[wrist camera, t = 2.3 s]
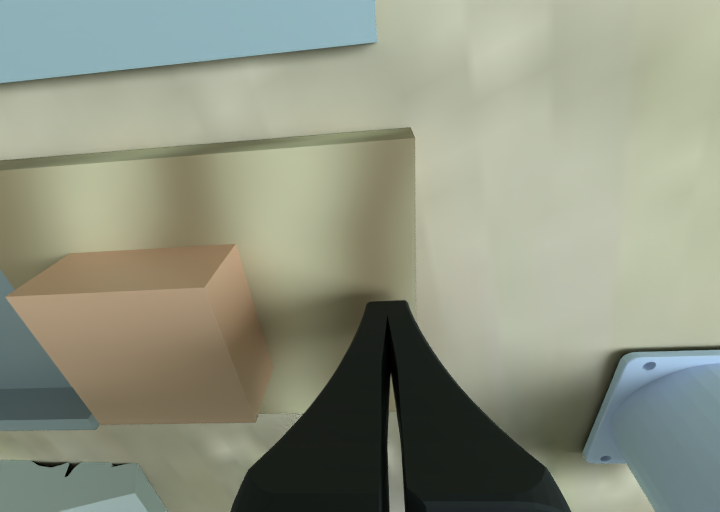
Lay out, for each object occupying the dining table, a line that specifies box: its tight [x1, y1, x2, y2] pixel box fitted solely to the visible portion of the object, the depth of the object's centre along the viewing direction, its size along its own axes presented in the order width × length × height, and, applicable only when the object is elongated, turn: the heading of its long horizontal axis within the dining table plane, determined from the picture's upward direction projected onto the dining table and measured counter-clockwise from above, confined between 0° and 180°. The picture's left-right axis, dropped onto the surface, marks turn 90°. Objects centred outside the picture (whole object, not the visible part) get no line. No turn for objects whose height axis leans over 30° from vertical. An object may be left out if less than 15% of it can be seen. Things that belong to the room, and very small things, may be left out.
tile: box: [5, 244, 273, 425], centre depth 13 cm, size 6×6×2 cm
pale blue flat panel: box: [0, 0, 377, 83], centre depth 10 cm, size 14×4×1 cm, turn 95°
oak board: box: [0, 128, 416, 414], centre depth 14 cm, size 15×12×2 cm
